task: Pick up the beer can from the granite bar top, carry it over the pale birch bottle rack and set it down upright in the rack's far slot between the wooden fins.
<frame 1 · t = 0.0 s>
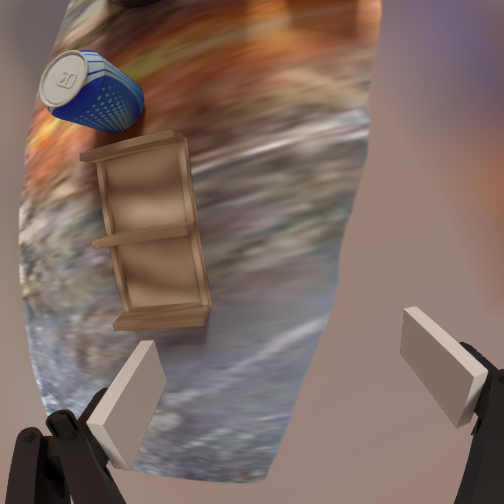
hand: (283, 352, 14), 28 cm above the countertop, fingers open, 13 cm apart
beer can: (121, 107, 38), on the countertop
rack: (154, 229, 42), on the countertop
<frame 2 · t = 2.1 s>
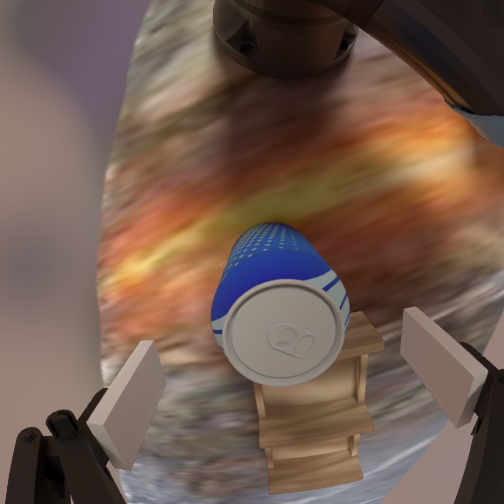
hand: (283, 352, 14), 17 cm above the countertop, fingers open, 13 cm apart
beer can: (271, 261, 31), on the countertop
rack: (309, 400, 35), on the countertop
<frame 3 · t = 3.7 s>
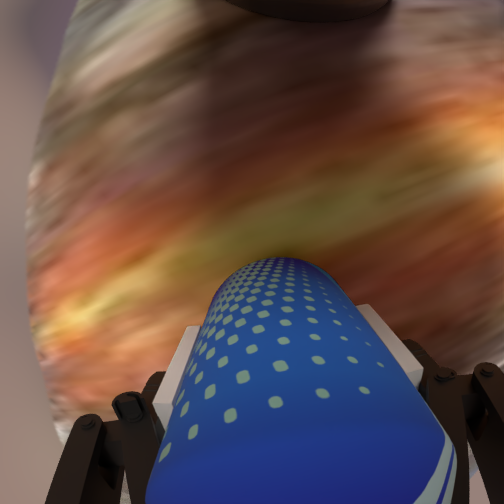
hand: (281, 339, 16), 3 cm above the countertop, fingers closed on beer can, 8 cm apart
beer can: (277, 316, 19), on the countertop, touching gripper
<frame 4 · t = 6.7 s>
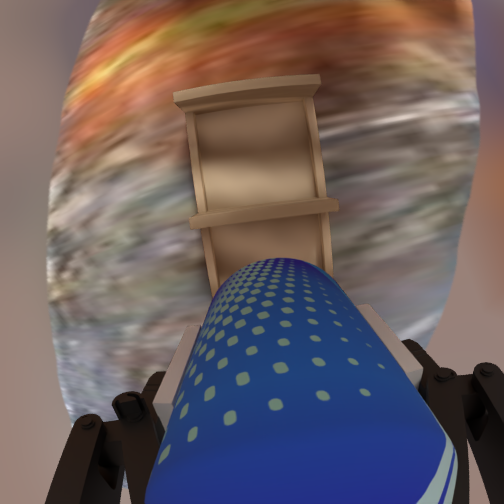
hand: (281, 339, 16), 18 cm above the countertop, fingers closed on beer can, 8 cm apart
beer can: (277, 316, 19), point 15 cm above the countertop, touching gripper
rack: (262, 207, 33), on the countertop
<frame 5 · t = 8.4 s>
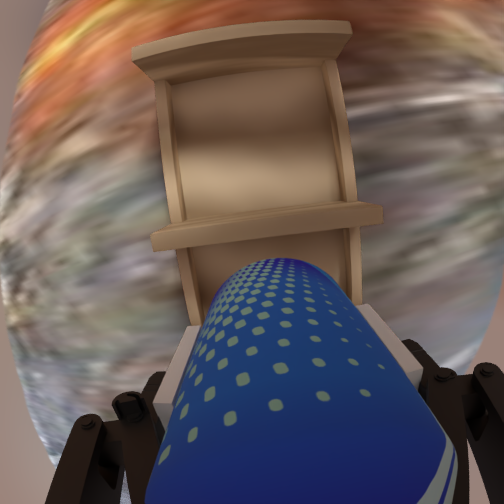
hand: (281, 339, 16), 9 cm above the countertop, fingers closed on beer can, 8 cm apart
beer can: (277, 316, 19), point 6 cm above the countertop, touching gripper
rack: (264, 214, 23), on the countertop
when the fingers open (5 cm above the countertop, at t = 9.6 s): beer can drops 1 cm, resting on rack.
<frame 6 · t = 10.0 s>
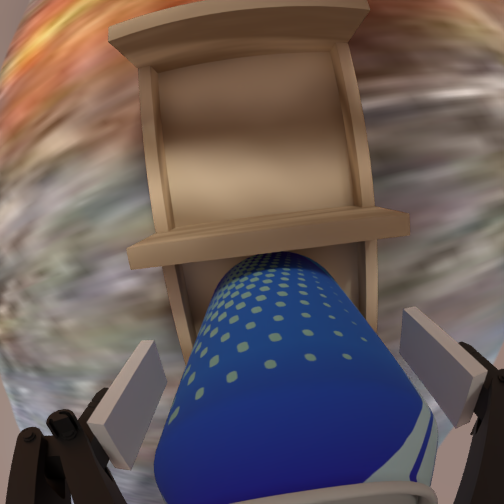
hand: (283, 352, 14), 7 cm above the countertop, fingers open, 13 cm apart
beer can: (275, 307, 20), point 1 cm above the countertop, touching rack
rack: (265, 221, 20), on the countertop
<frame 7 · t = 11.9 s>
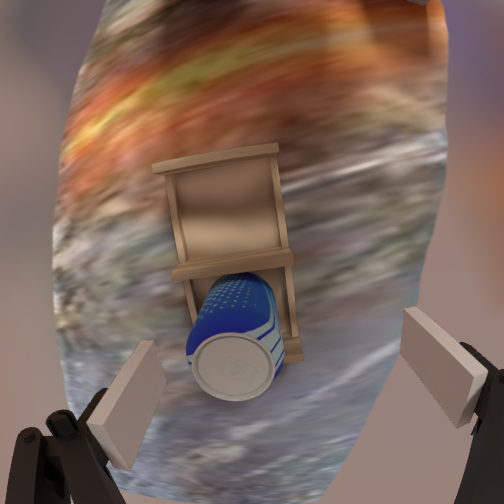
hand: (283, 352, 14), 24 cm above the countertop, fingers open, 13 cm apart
beer can: (241, 300, 38), point 1 cm above the countertop, touching rack
rack: (235, 254, 38), on the countertop
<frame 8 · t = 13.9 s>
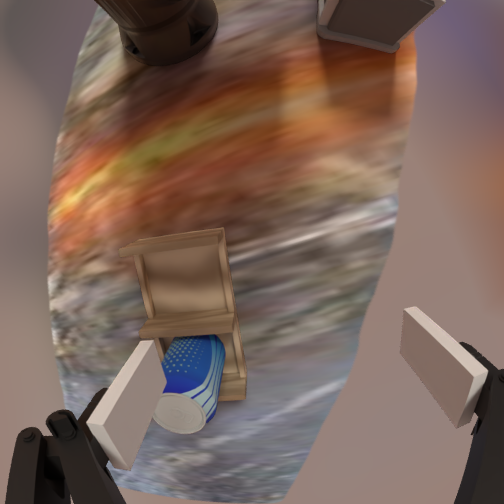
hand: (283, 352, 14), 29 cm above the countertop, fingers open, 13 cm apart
alarm clock: (355, 4, 34), on the countertop
beer can: (199, 346, 45), point 1 cm above the countertop, touching rack
rack: (193, 311, 45), on the countertop
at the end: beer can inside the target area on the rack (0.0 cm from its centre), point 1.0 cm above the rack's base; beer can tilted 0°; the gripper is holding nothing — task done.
